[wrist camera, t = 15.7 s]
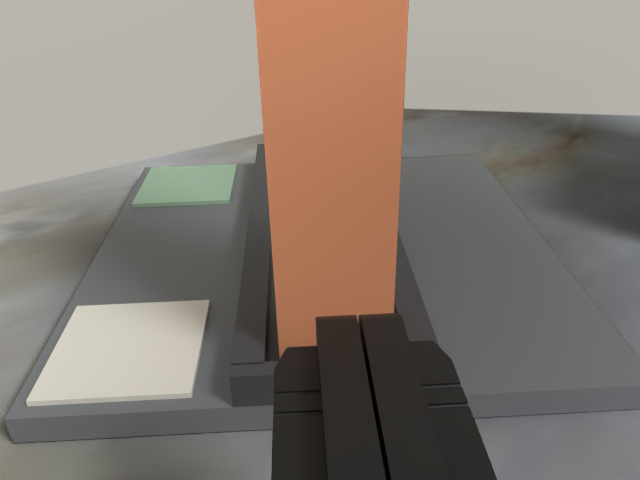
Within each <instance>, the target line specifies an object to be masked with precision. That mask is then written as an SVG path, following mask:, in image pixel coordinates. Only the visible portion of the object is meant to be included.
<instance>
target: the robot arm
mask: <svg viewBox="0 0 640 480" xmlns="http://www.w3.org/2000/svg"><path fill="white" fill-rule="evenodd" d="M460 383H461V382H460V380H459V377H458V374H457V372H456V369H455V367H454V364H453V361H452V359H451V358H450V357H449V356H448V355H447V354H446V353H445V352H444V351H443V350H442V349H441V348H440V347H439V346H438V345H437V344H436V343H435V342H434V341H433V340H425V341H409V338H408V335H407V332H406V328H405V325H404V321H403V318H402V315H401V313H384V314H364V315H359V317H358V320H357V316H356V315H340V316H319V317H316V346H302V347H287V348H286V350H285V351H284V353H283V355H282V356H281V358H280V360H279V361H278V363H277V365H276V366H275V368H274V401H273V440H272V480H497V478H496V476H495V473H494V470H493V468H492V465H491V462H490V460H489V457H488V454H487V452H486V449H485V446H484V444H483V441H482V438H481V436H480V433H479V430H478V428H477V425H476V422H475V420H474V417H473V414H472V412H471V409H470V407H468V401H467V398H466V396H465V393H464V390H463V388H462V387H461V384H460Z"/></svg>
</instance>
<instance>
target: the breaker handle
mask: <svg viewBox="0 0 640 480" xmlns="http://www.w3.org/2000/svg"><path fill="white" fill-rule="evenodd" d="M254 5H255V19H256V31H257V32H256V33H257V47H258V61H259V75H260V88H261V102H262V117H263V132H264V146H265V160H266V174H267V188H268V202H269V216H270V230H271V244H272V258H273V272H274V286H275V300H276V314H277V329H278V343H279V357H280V358H281V356H282V355H283V353H284V351H285V350H286V348H287V347H302V346H316V317H319V316H340V315H356V316H357V320H358V317H359V315H364V314H384V313H394V298H395V277H396V257H397V236H398V215H399V195H400V174H401V153H402V133H403V112H404V91H405V70H406V49H407V29H408V28H407V27H408V8H409V6H408V5H409V0H254Z"/></svg>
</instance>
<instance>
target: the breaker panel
mask: <svg viewBox="0 0 640 480" xmlns="http://www.w3.org/2000/svg"><path fill="white" fill-rule="evenodd" d="M394 313H401V315H402V318H403V321H404V325H405V328H406V332H407V335H408V338H409V341H425V340H433V341H434V342H435V343H436V344H437V345H438V346H439V347H440V348H441V349H442V350H443V351H444V352H445V353H446V354H447V355H448V356H449V357H450V358H451V359H452V361H453V364H454V367H455V369H456V372H457V374H458V377H459V380H460V382H461V383H460V384H461V387H462V388H463V390H464V393H465V396H466V398H467V401H468V407H470V409H471V412H472V414H473V417H474V418H484V417H502V416H520V415H539V414H557V413H575V412H593V411H612V410H630V409H640V358H639V357H638V355H637V354H636V353H635V352H634V350H633V349H632V348H631V347H630V345H629V344H628V343H627V342H626V340H625V339H624V338H623V337H622V335H621V334H620V333H619V332H618V331H617V329H616V328H615V327H614V326H613V324H612V323H611V322H610V321H609V319H608V318H607V317H606V316H605V314H604V313H603V312H602V311H601V309H600V308H599V307H598V306H597V304H596V303H595V302H594V301H593V299H592V298H591V297H590V296H589V294H588V293H587V292H586V291H585V289H584V288H583V287H582V286H581V284H580V283H579V282H578V281H577V279H576V278H575V277H574V276H573V274H572V273H571V272H570V271H569V269H568V268H567V267H566V266H565V264H564V263H563V262H562V261H561V259H560V258H559V257H558V256H557V254H556V253H555V252H554V251H553V249H552V248H551V247H550V246H549V244H548V243H547V242H546V241H545V239H544V238H543V237H542V236H541V234H540V233H539V232H538V231H537V229H536V228H535V227H534V226H533V224H532V223H531V222H530V221H529V219H528V218H527V217H526V216H525V214H524V213H523V212H522V211H521V209H520V208H519V207H518V206H517V204H516V203H515V202H514V201H513V199H512V198H511V197H510V196H509V194H508V193H507V192H506V191H505V189H504V188H503V187H502V186H501V184H500V183H499V182H498V181H497V179H496V178H495V177H494V176H493V175H492V173H491V172H490V171H489V170H488V168H487V167H486V166H485V165H484V163H483V162H482V161H481V160H480V158H479V157H478V156H477V155H457V156H431V157H406V158H401V174H400V195H399V215H398V236H397V257H396V277H395V298H394ZM279 360H280V357H279V343H278V329H277V314H276V300H275V286H274V272H273V258H272V244H271V230H270V216H269V202H268V188H267V174H266V160H265V146H264V144H258V146H257V154H256V163H253V164H226V165H200V166H175V167H151V168H145V169H144V170H143V172H142V174H141V176H140V178H139V179H138V181H137V183H136V185H135V187H134V188H133V190H132V192H131V194H130V195H129V197H128V199H127V201H126V203H125V204H124V206H123V208H122V210H121V212H120V213H119V215H118V217H117V219H116V220H115V222H114V224H113V226H112V228H111V229H110V231H109V233H108V235H107V236H106V238H105V240H104V242H103V244H102V245H101V247H100V249H99V251H98V253H97V254H96V256H95V258H94V260H93V261H92V263H91V265H90V267H89V269H88V270H87V272H86V274H85V276H84V278H83V279H82V281H81V283H80V285H79V286H78V288H77V290H76V292H75V294H74V295H73V297H72V299H71V301H70V303H69V304H68V306H67V308H66V310H65V311H64V313H63V315H62V317H61V319H60V320H59V322H58V324H57V326H56V328H55V329H54V331H53V333H52V335H51V336H50V338H49V340H48V342H47V344H46V345H45V347H44V349H43V351H42V353H41V354H40V356H39V358H38V360H37V361H36V363H35V365H34V367H33V369H32V370H31V372H30V374H29V376H28V378H27V379H26V381H25V383H24V385H23V386H22V388H21V390H20V392H19V394H18V395H17V397H16V399H15V401H14V403H13V404H12V406H11V408H10V410H9V411H8V413H7V415H6V417H5V419H4V421H5V424H6V426H7V429H8V431H9V434H10V436H11V439H12V441H13V443H28V442H46V441H64V440H82V439H101V438H119V437H137V436H155V435H174V434H192V433H210V432H228V431H247V430H265V429H273V401H274V368H275V366H276V365H277V363H278V361H279Z"/></svg>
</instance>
